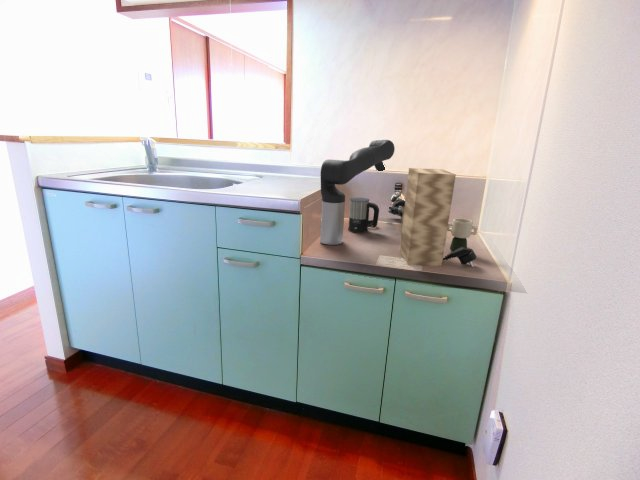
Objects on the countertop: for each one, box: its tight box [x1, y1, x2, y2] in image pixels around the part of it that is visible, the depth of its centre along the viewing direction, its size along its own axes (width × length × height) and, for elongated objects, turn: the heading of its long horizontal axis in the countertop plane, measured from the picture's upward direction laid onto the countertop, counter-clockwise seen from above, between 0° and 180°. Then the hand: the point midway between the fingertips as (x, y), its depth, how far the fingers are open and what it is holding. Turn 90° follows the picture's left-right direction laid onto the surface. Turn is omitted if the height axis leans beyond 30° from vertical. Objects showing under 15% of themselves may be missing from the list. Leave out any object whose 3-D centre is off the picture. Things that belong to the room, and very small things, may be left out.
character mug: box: [447, 217, 478, 252], centre depth 135 cm, size 11×7×13 cm, turn 64°
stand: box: [399, 167, 457, 267], centre depth 124 cm, size 12×15×32 cm
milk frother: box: [347, 196, 380, 233], centre depth 162 cm, size 14×16×15 cm
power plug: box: [443, 247, 477, 268], centre depth 124 cm, size 6×8×12 cm
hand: (406, 214), depth 153 cm, fingers closed on rod, 3 cm apart
